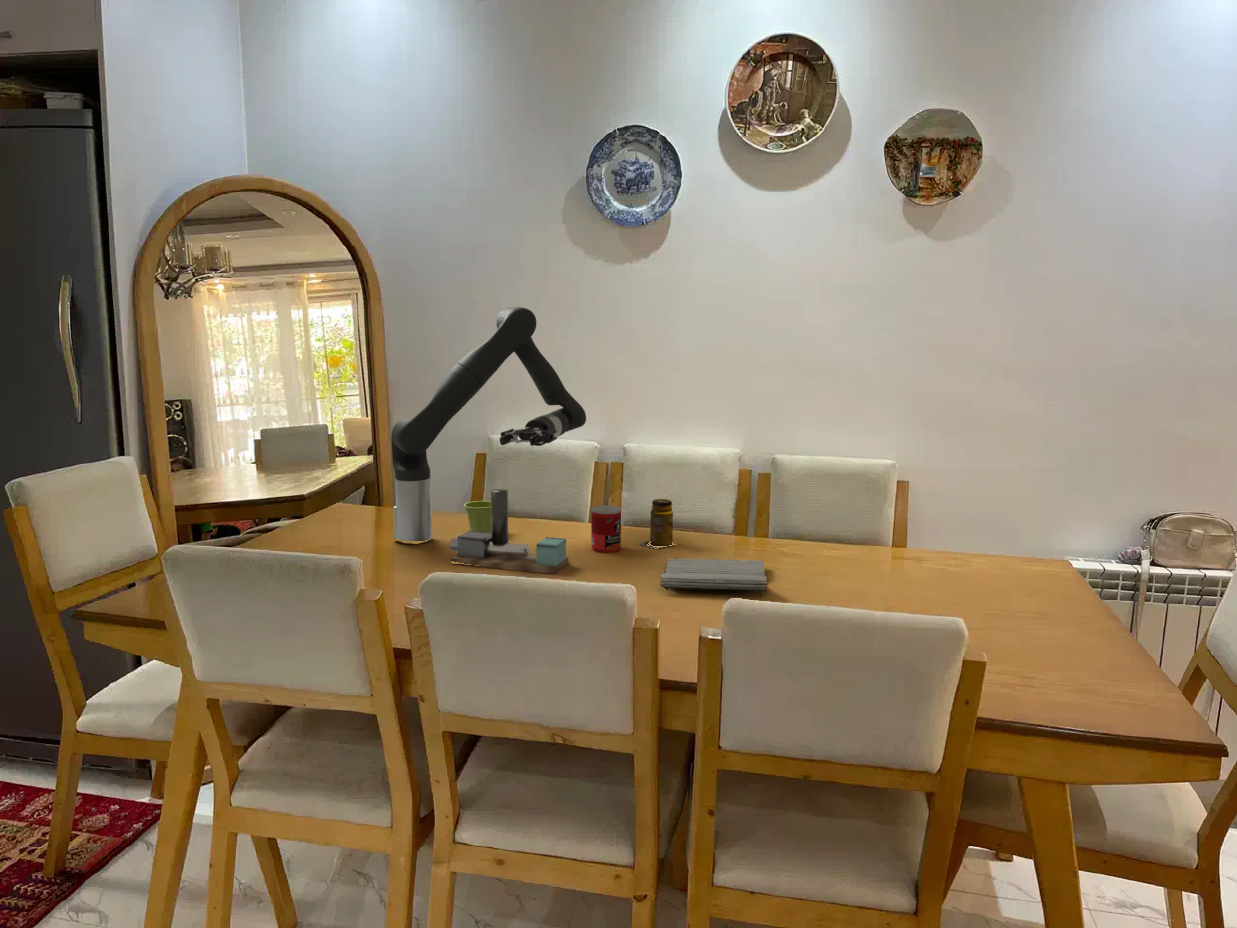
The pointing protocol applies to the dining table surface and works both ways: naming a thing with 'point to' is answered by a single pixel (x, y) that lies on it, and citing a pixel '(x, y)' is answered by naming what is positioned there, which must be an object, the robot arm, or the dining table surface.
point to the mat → (714, 574)
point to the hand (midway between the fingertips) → (516, 441)
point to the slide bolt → (499, 529)
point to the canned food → (606, 528)
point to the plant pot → (479, 516)
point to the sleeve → (473, 544)
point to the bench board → (511, 563)
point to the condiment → (661, 524)
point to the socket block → (551, 551)
